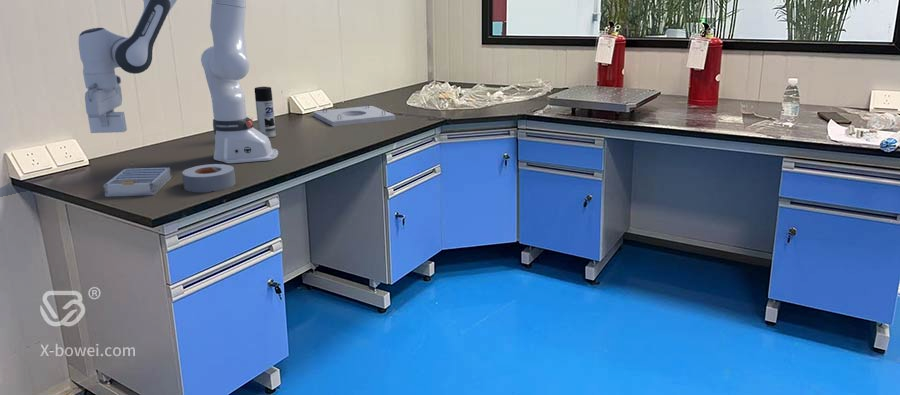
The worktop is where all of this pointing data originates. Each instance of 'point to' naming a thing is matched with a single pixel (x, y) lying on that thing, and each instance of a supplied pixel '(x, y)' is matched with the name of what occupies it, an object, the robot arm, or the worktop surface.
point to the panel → (115, 123)
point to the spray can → (265, 111)
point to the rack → (137, 182)
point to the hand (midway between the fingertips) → (108, 125)
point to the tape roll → (208, 178)
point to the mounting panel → (353, 115)
